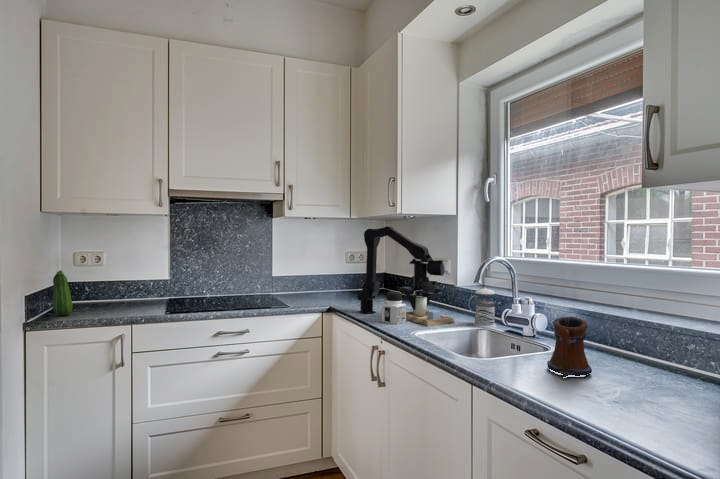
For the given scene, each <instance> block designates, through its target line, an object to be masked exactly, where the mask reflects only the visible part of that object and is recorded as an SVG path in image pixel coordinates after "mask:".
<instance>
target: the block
mask: <svg viewBox="0 0 720 479" xmlns="http://www.w3.org/2000/svg"><path fill="white" fill-rule="evenodd" d="M426 311H427V320H435V319H440V315H442V313H441V311H440V310H435V309H432V310H426Z"/></svg>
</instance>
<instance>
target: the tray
mask: <svg viewBox="0 0 720 479" xmlns="http://www.w3.org/2000/svg"><path fill="white" fill-rule="evenodd" d="M427 311H428V310H426V314H415V313H413V311H406V321H410V322H413V323H417V324H418V325H419V324H420V325H422V326H426V327H431V326H440V325H441V326H442V325H449V324H450V325H451V324H455V318H454V317H452V316H448V315H444V314H441V315H440V319H435V320H427Z"/></svg>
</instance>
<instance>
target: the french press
mask: <svg viewBox="0 0 720 479" xmlns="http://www.w3.org/2000/svg"><path fill="white" fill-rule="evenodd" d="M487 269H489V267H487V268H486V269H485V268H484V270H485V276H484V277H485V279H484V280H485V281H484V288H480V289H478V290H475V294H474V295H472V296H471V297H470V298H469V300H468V303H470V302H471V300H472V299H473V298H475V299H476V300H477V294H478V295H483V296H484V297H486V296H487V295H488V296H494V295H495V294H496V292H495V291H494V290H492V289H489V288H487V287H486V285H487V284H486V283H487V277H486V276H487ZM476 303H477V304H475V311H474V310H473V309H471V307H470V305H468V307H469V311H470V312H472V313H473V314H474V322H473V324H472V325H473V327H478V328H485V329H491V328H492V329H493V328H497V327H498V326H497V324H496V323H495V318H496V317H495V311H496V310H495V305H494V304H495V302H494V301H490V300H477V301H476Z"/></svg>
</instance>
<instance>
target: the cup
mask: <svg viewBox="0 0 720 479" xmlns="http://www.w3.org/2000/svg"><path fill="white" fill-rule="evenodd" d="M427 308H428V306H427V297H424V296H423V295H417V297H416V305H415V310H413V309H412V312H413V313H415V314H426V311H428V310H427Z"/></svg>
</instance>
